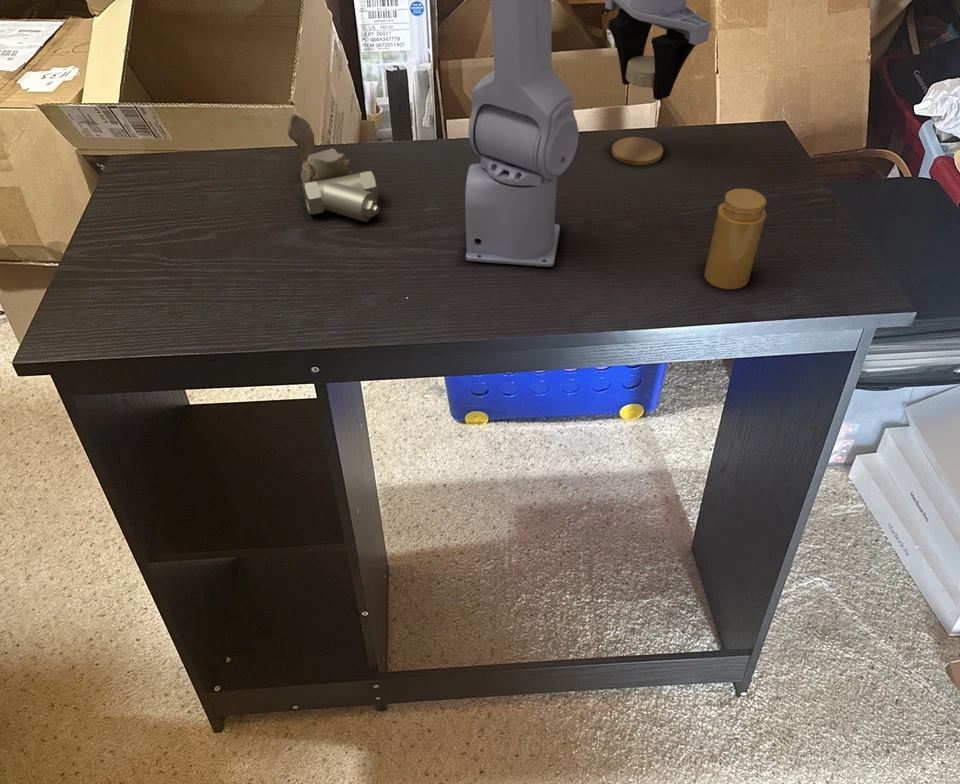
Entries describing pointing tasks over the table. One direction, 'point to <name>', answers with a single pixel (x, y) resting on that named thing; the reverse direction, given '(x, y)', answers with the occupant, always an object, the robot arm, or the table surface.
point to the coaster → (637, 151)
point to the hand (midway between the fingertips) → (645, 89)
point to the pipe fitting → (344, 196)
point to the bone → (315, 154)
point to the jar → (735, 239)
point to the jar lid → (641, 71)
